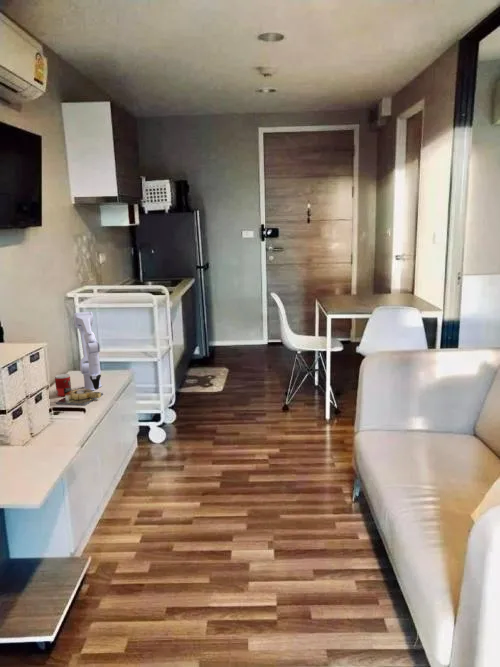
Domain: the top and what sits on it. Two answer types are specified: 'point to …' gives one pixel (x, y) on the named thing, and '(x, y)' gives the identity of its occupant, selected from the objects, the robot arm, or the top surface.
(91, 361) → the robot arm
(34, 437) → the top surface
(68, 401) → the flange plate
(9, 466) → the top surface
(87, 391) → the handled octagonal ring
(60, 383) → the canned food
